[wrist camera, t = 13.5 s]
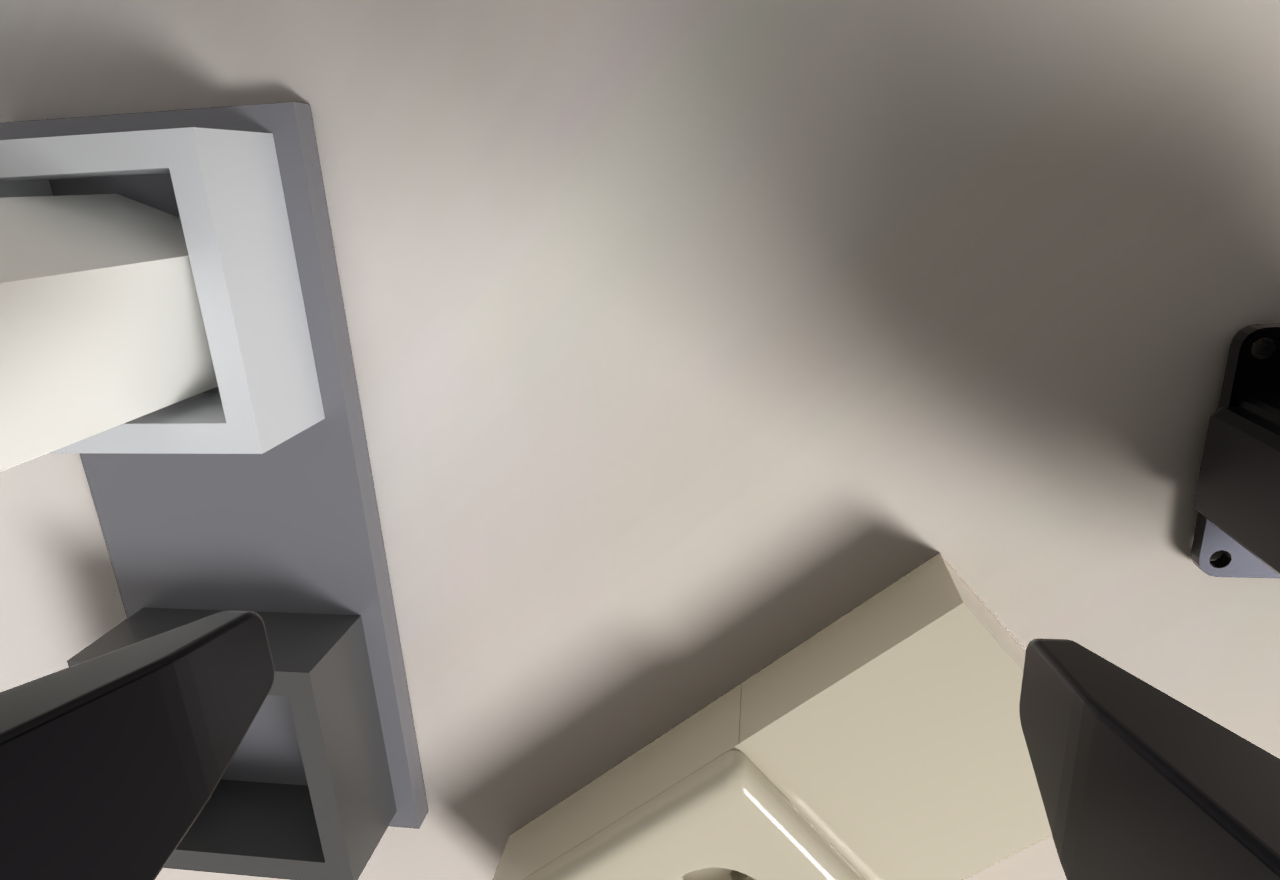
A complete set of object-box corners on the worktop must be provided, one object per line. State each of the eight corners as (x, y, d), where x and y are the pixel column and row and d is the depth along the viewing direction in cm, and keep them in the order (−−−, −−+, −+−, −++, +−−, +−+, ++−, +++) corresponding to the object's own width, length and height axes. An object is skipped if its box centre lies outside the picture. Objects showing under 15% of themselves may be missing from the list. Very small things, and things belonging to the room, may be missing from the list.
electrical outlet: (1148, 823, 20) (624, 1077, 25) (1085, 718, 23) (642, 958, 29) (972, 622, 19) (467, 933, 24) (936, 546, 22) (507, 830, 28)
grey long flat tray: (310, 104, 20) (214, 89, 17) (428, 810, 28) (379, 905, 24) (10, 125, 22) (-136, 116, 18) (198, 793, 29) (119, 879, 26)
